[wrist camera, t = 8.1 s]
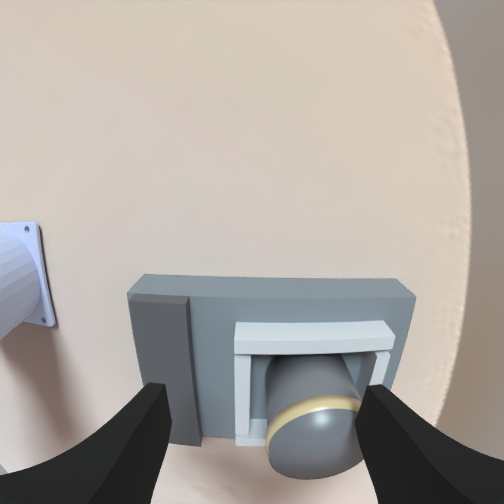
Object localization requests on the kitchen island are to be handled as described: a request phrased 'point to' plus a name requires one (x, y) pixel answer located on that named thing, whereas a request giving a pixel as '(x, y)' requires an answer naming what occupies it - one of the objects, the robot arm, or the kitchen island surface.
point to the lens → (311, 415)
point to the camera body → (257, 341)
